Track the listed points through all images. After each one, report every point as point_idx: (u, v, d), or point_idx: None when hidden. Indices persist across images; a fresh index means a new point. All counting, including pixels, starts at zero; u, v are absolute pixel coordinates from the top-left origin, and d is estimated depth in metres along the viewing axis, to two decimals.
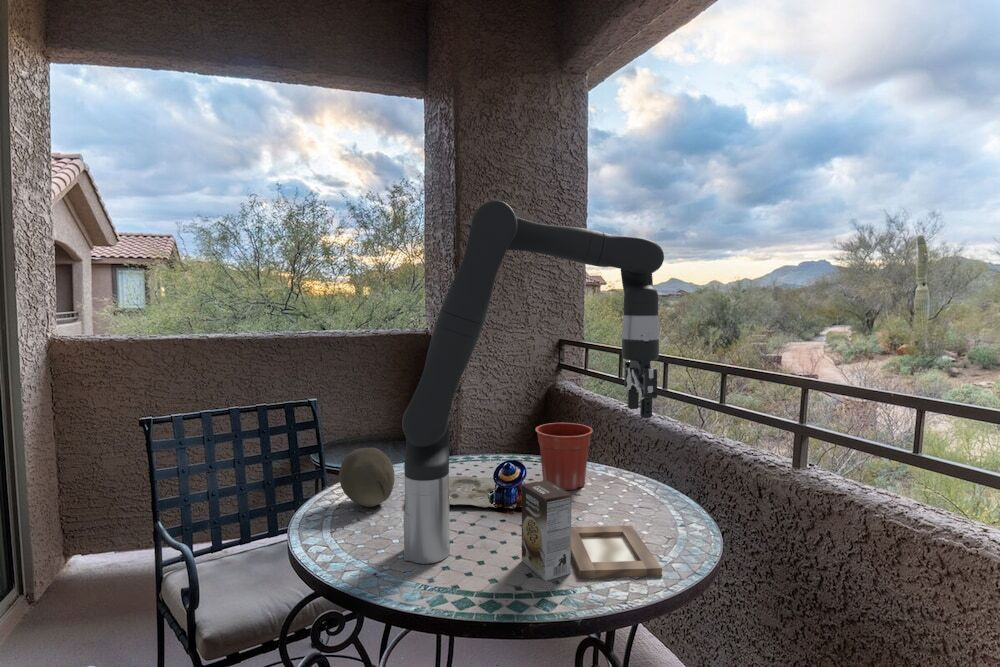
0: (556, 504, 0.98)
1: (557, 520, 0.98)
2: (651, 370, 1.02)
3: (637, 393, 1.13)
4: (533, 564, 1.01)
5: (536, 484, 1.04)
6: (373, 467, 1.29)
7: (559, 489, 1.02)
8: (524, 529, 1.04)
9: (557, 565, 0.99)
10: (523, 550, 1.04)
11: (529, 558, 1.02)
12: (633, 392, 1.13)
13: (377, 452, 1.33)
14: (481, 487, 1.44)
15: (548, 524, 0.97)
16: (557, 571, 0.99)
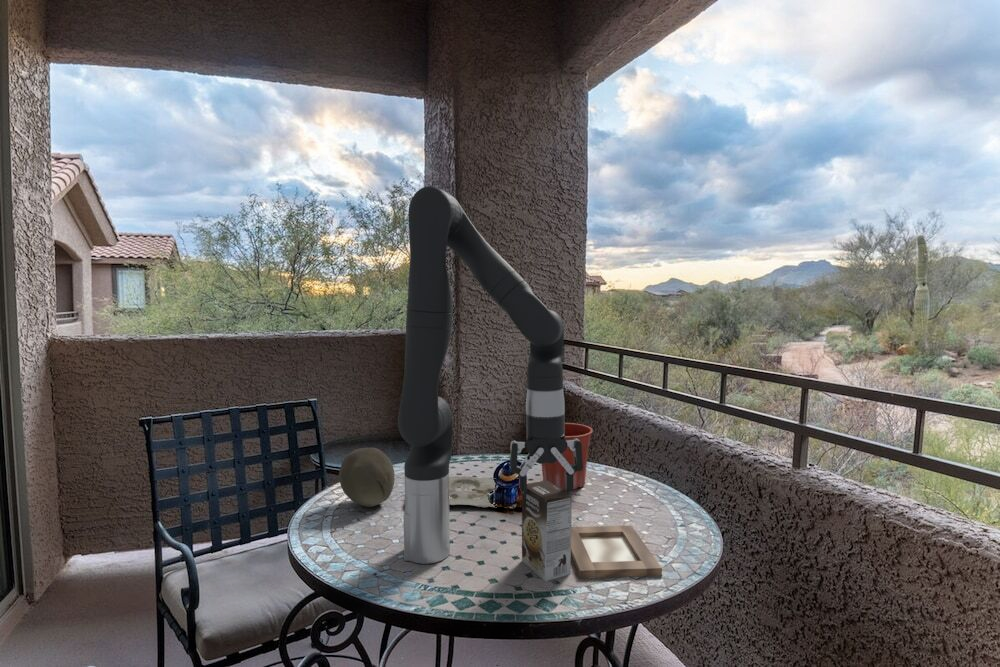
0: (556, 505, 0.98)
1: (557, 521, 0.98)
2: (579, 441, 1.02)
3: None
4: (533, 564, 1.01)
5: (536, 484, 1.04)
6: (373, 467, 1.29)
7: (559, 489, 1.02)
8: (524, 530, 1.04)
9: (557, 566, 0.99)
10: (523, 550, 1.04)
11: (529, 558, 1.03)
12: (525, 474, 1.02)
13: (377, 452, 1.33)
14: (481, 487, 1.44)
15: (548, 525, 0.97)
16: (557, 571, 0.99)
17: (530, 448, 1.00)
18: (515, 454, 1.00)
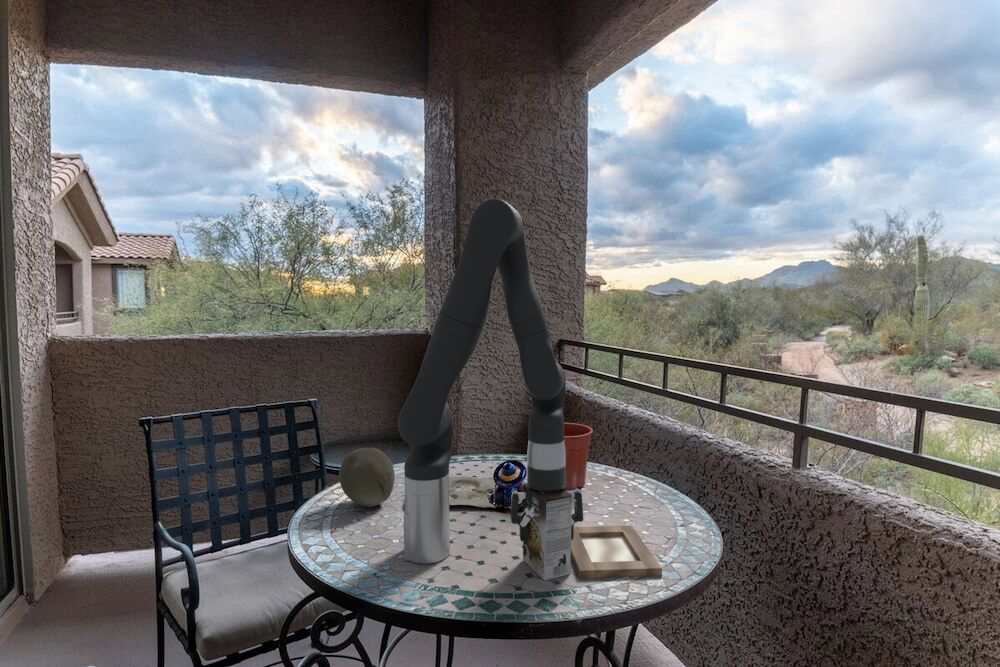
0: (556, 504, 0.98)
1: (556, 520, 0.98)
2: None
3: None
4: (533, 563, 1.01)
5: None
6: (373, 467, 1.29)
7: None
8: None
9: (556, 565, 0.99)
10: (524, 549, 1.05)
11: (529, 557, 1.03)
12: None
13: (377, 452, 1.33)
14: (480, 487, 1.44)
15: (548, 524, 0.97)
16: (557, 571, 0.99)
17: (531, 499, 1.01)
18: (516, 505, 1.01)
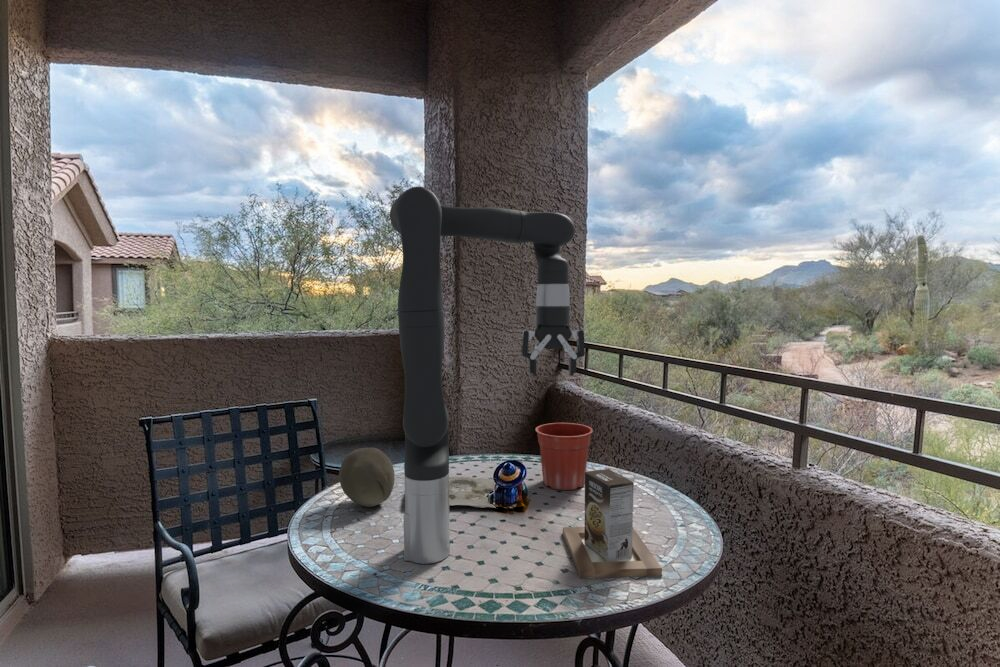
0: (619, 491, 1.04)
1: (619, 506, 1.04)
2: None
3: None
4: (596, 547, 1.07)
5: (598, 472, 1.10)
6: (373, 467, 1.29)
7: (621, 477, 1.07)
8: (587, 514, 1.10)
9: (619, 549, 1.05)
10: (586, 534, 1.11)
11: (592, 541, 1.09)
12: (535, 359, 1.17)
13: (377, 452, 1.33)
14: (478, 487, 1.44)
15: (611, 510, 1.03)
16: (619, 554, 1.05)
17: (539, 335, 1.16)
18: (526, 340, 1.16)
